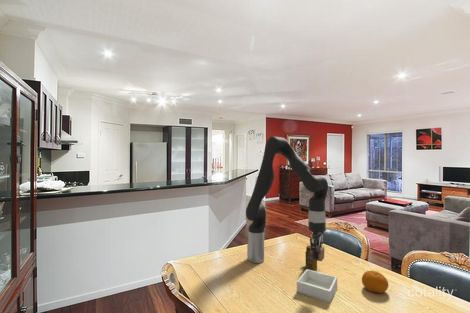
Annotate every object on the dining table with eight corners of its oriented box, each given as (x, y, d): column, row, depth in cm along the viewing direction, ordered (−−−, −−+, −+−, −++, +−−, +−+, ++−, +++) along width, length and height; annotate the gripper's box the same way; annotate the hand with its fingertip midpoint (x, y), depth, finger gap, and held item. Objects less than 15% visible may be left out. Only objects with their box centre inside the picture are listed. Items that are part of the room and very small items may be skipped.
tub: (296, 292, 109) (296, 281, 109) (306, 279, 121) (306, 269, 121) (330, 303, 101) (330, 291, 101) (337, 287, 113) (337, 277, 113)
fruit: (388, 299, 104) (388, 280, 104) (361, 292, 110) (361, 274, 110) (388, 288, 113) (388, 270, 113) (362, 281, 118) (362, 265, 118)
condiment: (320, 269, 131) (320, 247, 131) (310, 274, 126) (310, 251, 126) (309, 264, 137) (309, 243, 137) (299, 268, 133) (299, 246, 133)
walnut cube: (310, 258, 110) (310, 247, 110) (313, 255, 115) (313, 244, 115) (321, 261, 108) (321, 250, 108) (324, 257, 112) (324, 246, 112)
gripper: (313, 215, 119) (313, 250, 119) (303, 222, 107) (304, 260, 107) (329, 217, 115) (329, 253, 115) (321, 224, 103) (321, 264, 103)
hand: (317, 256), depth 111 cm, fingers closed on walnut cube, 5 cm apart
